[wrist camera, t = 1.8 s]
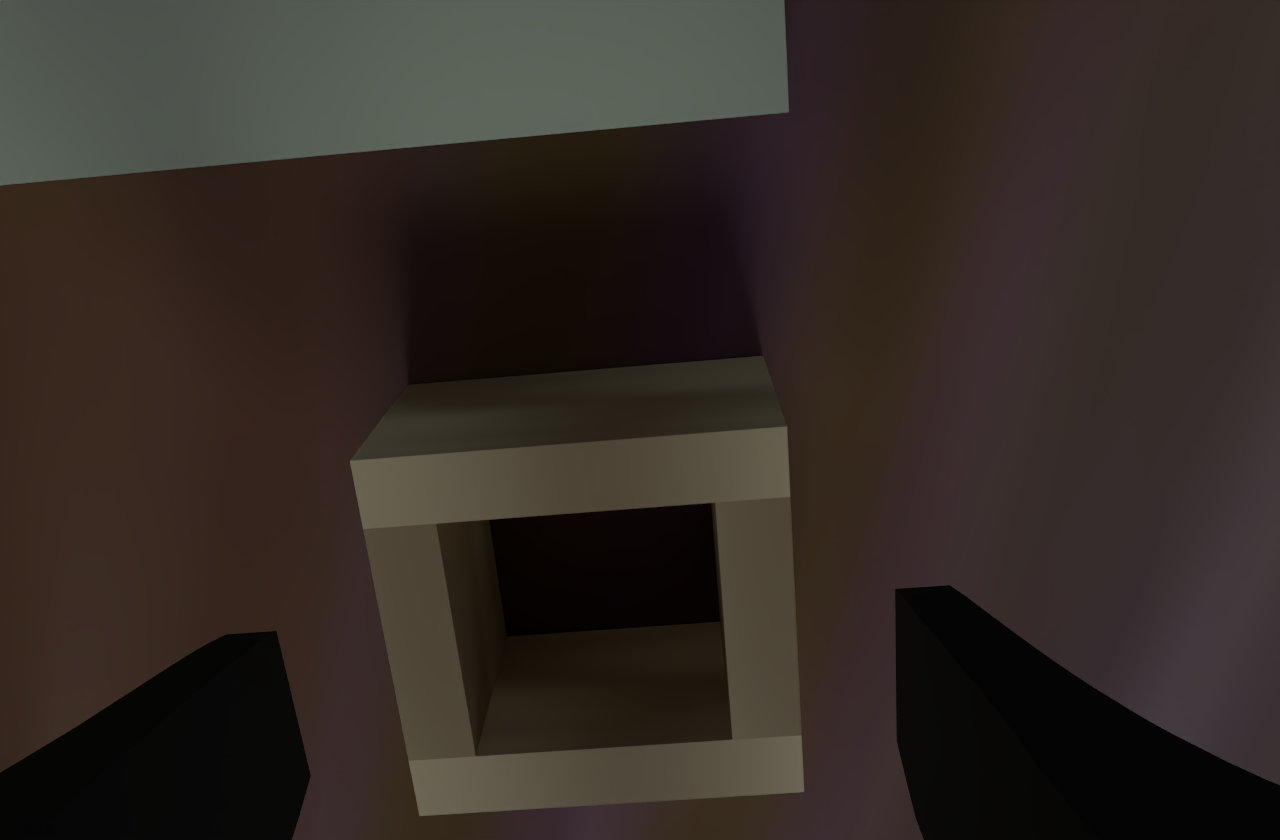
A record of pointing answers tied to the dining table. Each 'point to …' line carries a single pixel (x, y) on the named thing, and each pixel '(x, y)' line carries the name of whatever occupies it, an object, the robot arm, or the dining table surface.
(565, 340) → the dining table surface
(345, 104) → the pin board
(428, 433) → the collar
